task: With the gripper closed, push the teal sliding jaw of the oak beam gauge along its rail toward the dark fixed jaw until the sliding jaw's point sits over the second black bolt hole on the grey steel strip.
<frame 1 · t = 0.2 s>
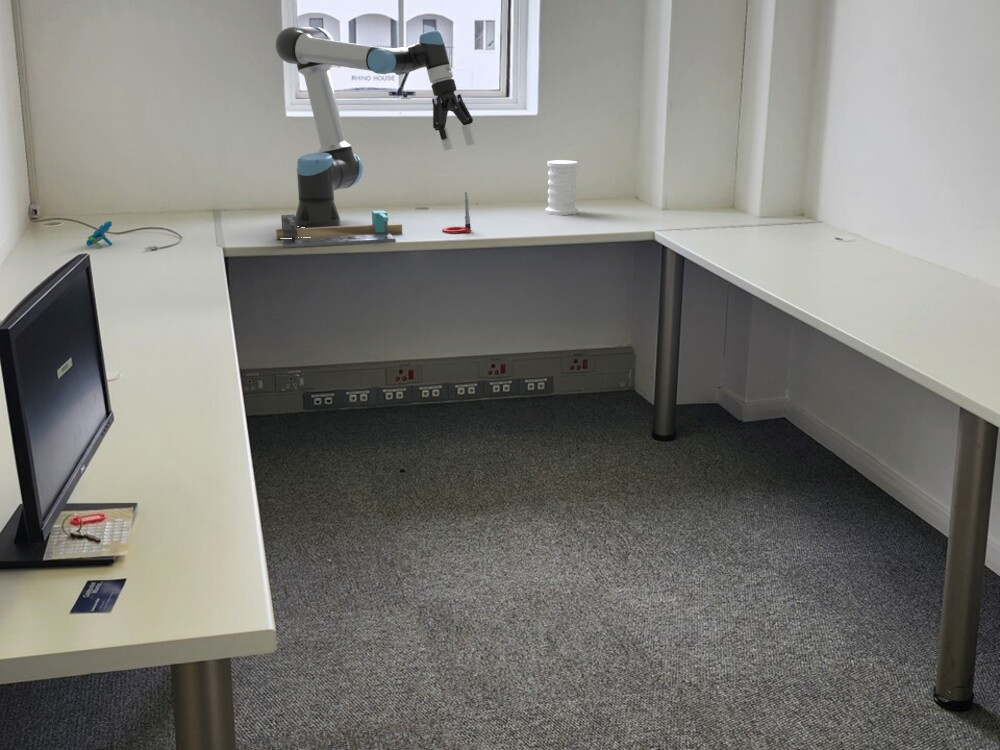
hand: (459, 147, 361), 27 cm above the table, tool tilted 15°, fingers open, 13 cm apart
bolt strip: (339, 241, 351), on the table
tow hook: (456, 232, 370), on the table
sliding jaw: (382, 223, 360), point 4 cm above the table, slide at 13.0 cm
blue blocky piece: (99, 246, 344), on the table
decorative container: (561, 213, 406), on the table
gauge rail: (340, 236, 361), on the table
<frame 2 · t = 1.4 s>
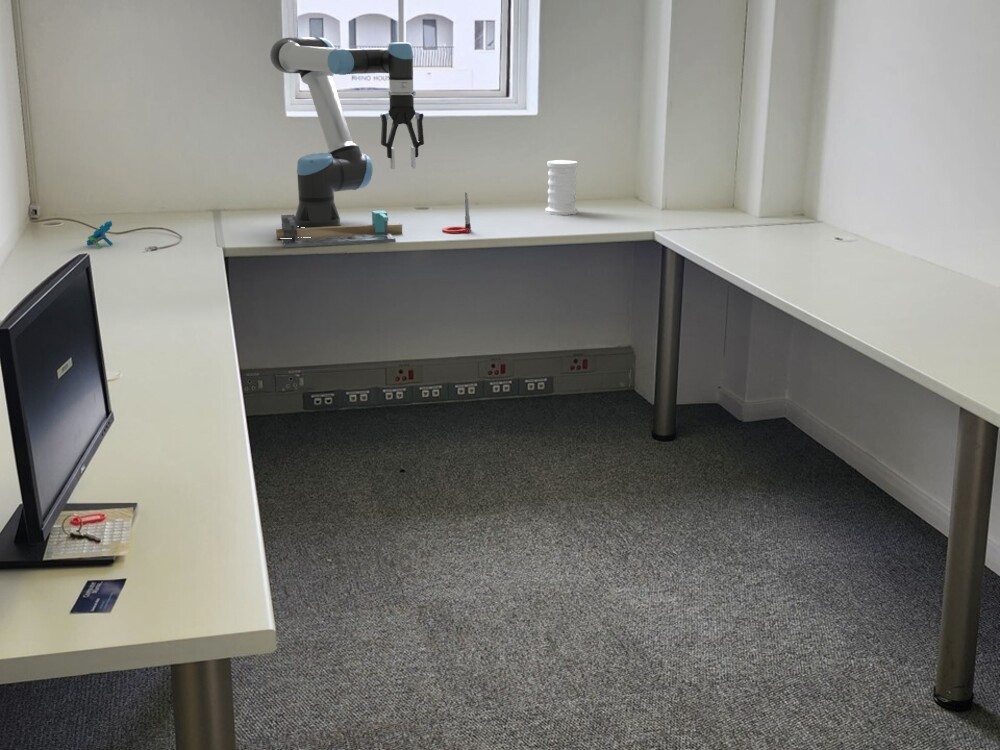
hand: (403, 167, 360), 21 cm above the table, tool pointing down, fingers open, 6 cm apart
nothing on the table moved.
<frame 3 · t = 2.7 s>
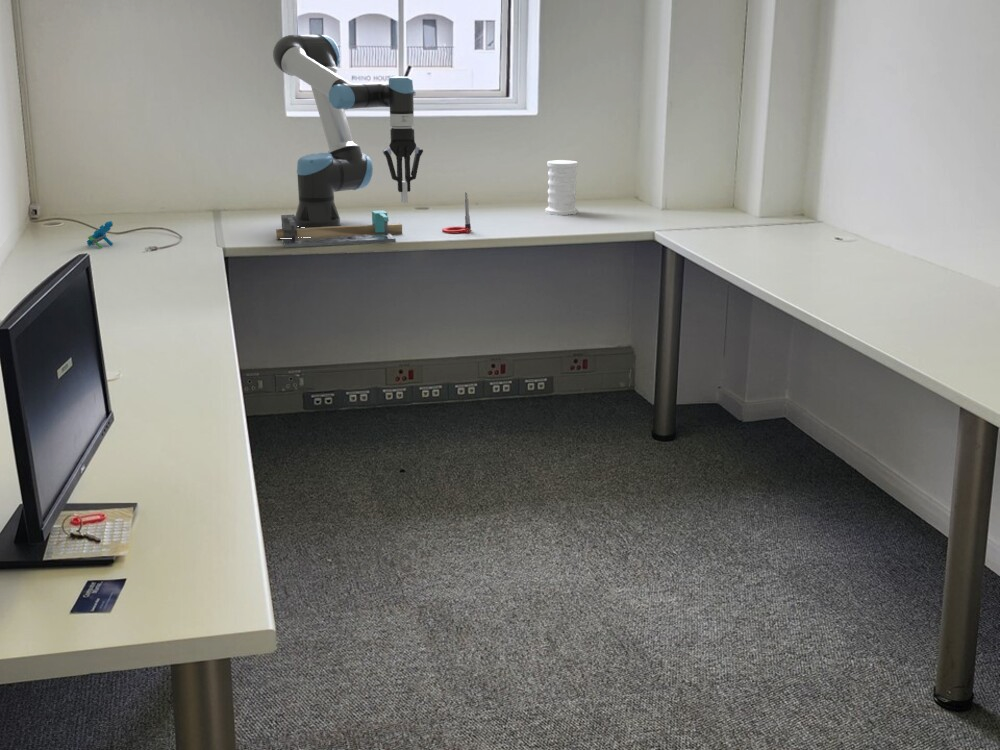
hand: (404, 201, 363), 10 cm above the table, tool pointing down, fingers closed
nothing on the table moved.
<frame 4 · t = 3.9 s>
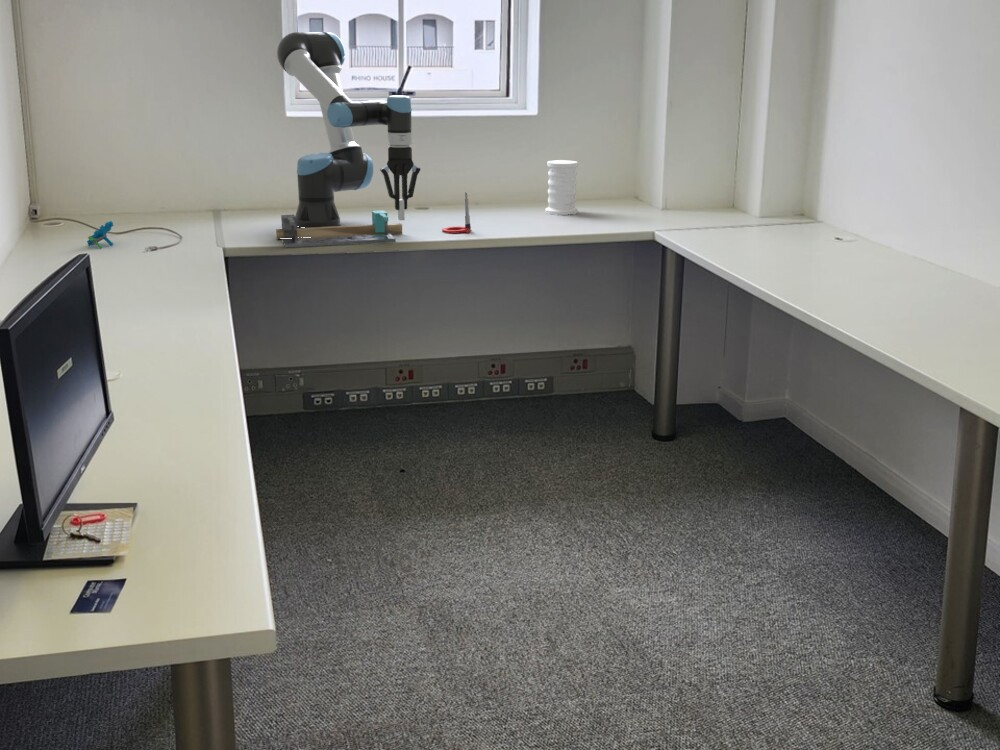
hand: (401, 219, 365), 4 cm above the table, tool pointing down, fingers closed
nothing on the table moved.
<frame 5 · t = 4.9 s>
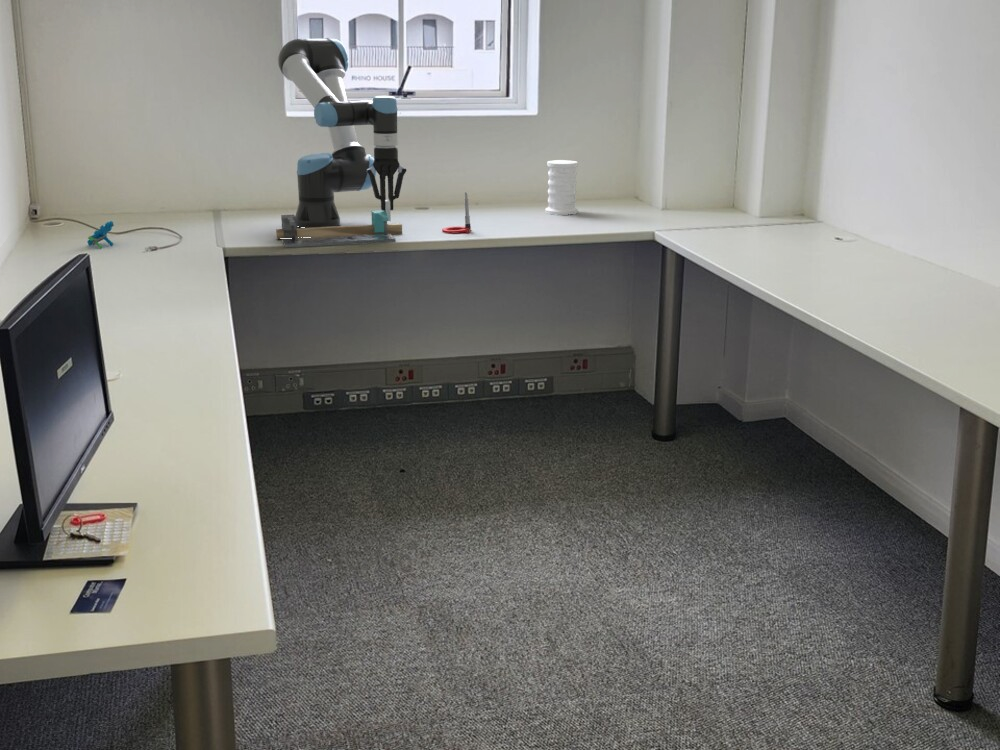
hand: (387, 220, 364), 4 cm above the table, tool pointing down, fingers closed
sliding jaw: (381, 223, 360), point 4 cm above the table, slide at 12.8 cm, touching gripper
everything else where it was.
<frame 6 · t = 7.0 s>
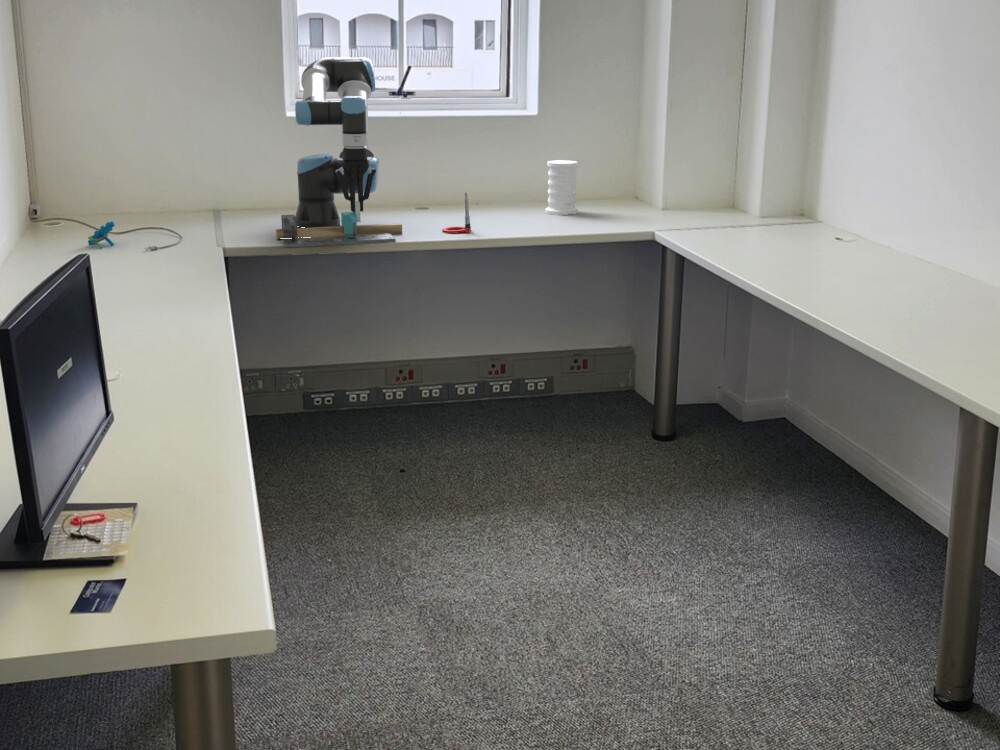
hand: (357, 221, 361), 4 cm above the table, tool pointing down, fingers closed
sliding jaw: (351, 224, 357), point 4 cm above the table, slide at 3.0 cm, touching gripper
everything else where it was.
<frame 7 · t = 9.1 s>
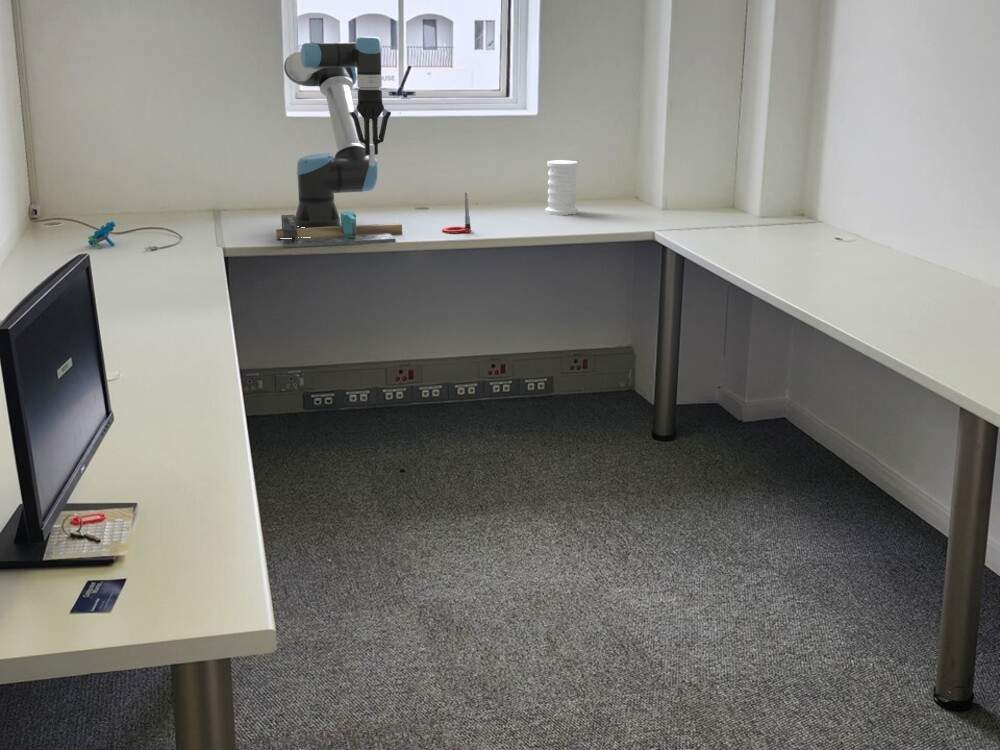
hand: (371, 165, 357), 22 cm above the table, tool pointing down, fingers closed
sliding jaw: (350, 224, 357), point 4 cm above the table, slide at 2.8 cm
everything else where it was.
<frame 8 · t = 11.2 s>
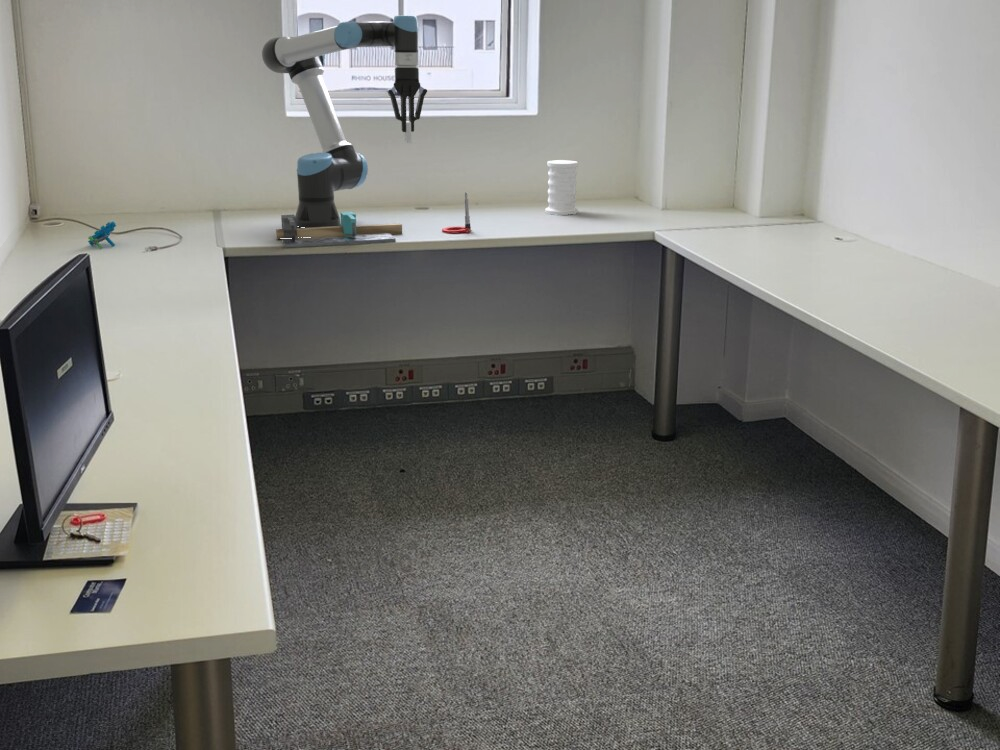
hand: (408, 142, 363), 28 cm above the table, tool pointing down, fingers closed
at the end: sliding jaw slide at 2.8 cm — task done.
